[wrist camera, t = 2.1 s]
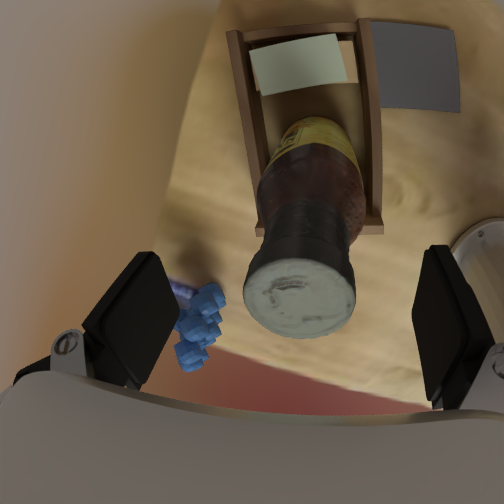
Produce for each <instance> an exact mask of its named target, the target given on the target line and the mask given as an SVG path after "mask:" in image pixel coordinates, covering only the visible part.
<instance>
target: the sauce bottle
mask: <svg viewBox="0 0 504 504" xmlns="http://www.w3.org/2000/svg"><path fill="white" fill-rule="evenodd" d="M256 201H257V206H258V210H259V213H260V217H261V220H262V224H263V227H264V231H265V233H264V241H263V243H262V245H261V248H260V250H259V251H258V252H257V253H256V254H255V255H254V257H253V259H252V261H251V262H250V265H249V270H248V273H247V276H246V279H245V283H244V286H243V299H244V304H245V305H246V307H247V309H248V311H249V312H250V314H251V316H252V317H253V318H254V319H255V320H256V321H257V322H259V323H260V324H261V325H262V326H263V327H265V328H266V329H268V330H269V331H271V332H273V333H275V334H278V335H281V336H283V337H290V338H294V339H314V338H318V337H321V336H327V335H329V334H330V333H332V332H335V331H337V330H338V329H339V328H341V327H342V326H343V325H344V324H346V323H347V321H348V320H349V318H350V317H351V315H352V312H353V310H354V307H355V303H356V286H355V278H354V271H353V268H352V265H351V263H350V262H349V253H348V252H349V246H350V245H351V244H352V243H353V242H354V241H355V240H356V238H357V236H358V235H359V233H360V232H361V231H362V228H363V226H364V224H365V215H366V199H365V195H364V186H363V181H362V177H361V173H360V170H359V166H358V163H357V160H356V156H355V153H354V150H353V147H352V144H351V141H350V138H349V136H348V135H347V133H346V132H345V131H344V129H343V128H342V127H341V126H340V125H338V124H337V123H335V122H334V121H332V120H330V119H328V118H326V117H323V116H310V117H307V118H304V119H301V120H298V121H297V122H295V123H294V124H293V125H291V126H290V127H289V128H288V130H287V131H286V132H285V134H284V136H283V138H282V140H281V142H280V143H279V145H278V147H277V149H276V150H275V152H274V154H273V156H272V157H271V160H270V162H269V164H268V165H267V167H266V169H265V171H264V173H263V175H262V177H261V179H260V182H259V184H258V188H257V194H256Z"/></svg>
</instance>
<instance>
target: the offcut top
mask: <svg viewBox="0 0 504 504" xmlns="http://www.w3.org/2000/svg"><path fill="white" fill-rule="evenodd" d="M249 53H250V56H251V60H252V63H253V66H254V70H255V73H256V76H257V80H258V83H259V87H260V90H261V94H262V96H266V95H270V94H275V93H279V92H284V91H289V90H294V89H299V88H305V87H310V86H316V85H322V84H329V83H336V82H343V81H348V79H347V75H346V71H345V67H344V63H343V59H342V55H341V51H340V48H339V44H338V41H337V37H336V34H328V35H321V36H315V37H309V38H304V39H298V40H293V41H289V42H284V43H279V44H275V45H271V46H267V47H263V48H259V49H255V50H251V51H249Z"/></svg>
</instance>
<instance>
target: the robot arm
mask: <svg viewBox="0 0 504 504" xmlns="http://www.w3.org/2000/svg"><path fill="white" fill-rule="evenodd" d="M179 316H180V308H179V305H178V303H177V300H176V298H175V296H174V293H173V291H172V288H171V286H170V283H169V280H168V278H167V275H166V273H165V270H164V268H163V265H162V262H161V260H160V257H159V256H158V255H156V254H155V253H154V252H152V251H149V252H139V253H137V254H136V256H135V257H134V258H133V259H132V261H131V262H130V263H129V264H128V265H127V267H126V268H125V269H124V270H123V271H122V273H121V274H120V275H119V276H118V278H117V279H116V280H115V282H114V283H113V284H112V285H111V286H110V288H109V289H108V290H107V291H106V293H105V294H104V295H103V297H102V298H101V299H100V301H99V302H98V303H97V304H96V306H95V307H94V309H93V310H92V311H91V312H90V314H89V315H88V316H87V318H86V319H85V320H84V322H83V323H82V327H83V328H84V329H85V333H84V334H83V333H82V332H81V331H80V330H77V329H70V330H67V331H65V332H63V333H61V334H60V335H59V336H58V337H57V338H56V339H55V341H54V342H53V344H52V347H51V355H49V356H47V357H45V358H43V359H41V360H39V361H37V362H35V363H33V364H31V365H29V366H27V367H25V368H23V369H21V370H20V371H19V372H18V373H17V374H16V377H15V379H14V382H13V386H9V387H8V388H7V389H6V390H5V391H3V392H2V393H1V394H0V504H504V218H491V219H486V220H484V221H481V222H479V223H477V224H476V225H474V226H472V227H471V228H469V229H468V230H467V231H466V232H465V233H464V234H462V235H461V237H460V238H459V239H458V240H457V241H456V242H455V244H454V245H453V247H452V248H451V250H450V249H449V247H448V246H447V245H431V246H430V248H429V249H428V250H425V252H424V257H423V262H422V267H421V272H420V277H419V282H418V287H417V291H416V295H415V300H414V304H413V308H412V322H413V327H414V331H415V336H416V340H417V345H418V350H419V355H420V361H421V366H422V372H423V378H424V384H425V391H426V397H427V400H428V401H432V409H433V410H434V409H441V408H443V411H429V412H420V413H407V414H391V415H367V416H312V415H291V414H277V413H265V412H254V411H246V410H238V409H229V408H223V407H216V406H209V405H203V404H197V403H192V402H186V401H181V400H176V399H171V398H166V397H161V396H157V395H152V394H149V393H144V392H140V391H139V390H140V388H141V386H142V384H144V383H146V381H147V380H148V378H149V375H150V374H151V372H152V369H153V367H154V365H155V363H156V361H157V359H158V357H159V355H160V353H161V351H162V349H163V347H164V345H165V343H166V341H167V340H168V338H169V335H170V334H171V332H172V330H173V328H174V326H175V324H176V322H177V320H178V318H179ZM125 385H126V386H127V388H125V387H124V386H125ZM132 389H133V390H132ZM136 390H137V391H136Z"/></svg>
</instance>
